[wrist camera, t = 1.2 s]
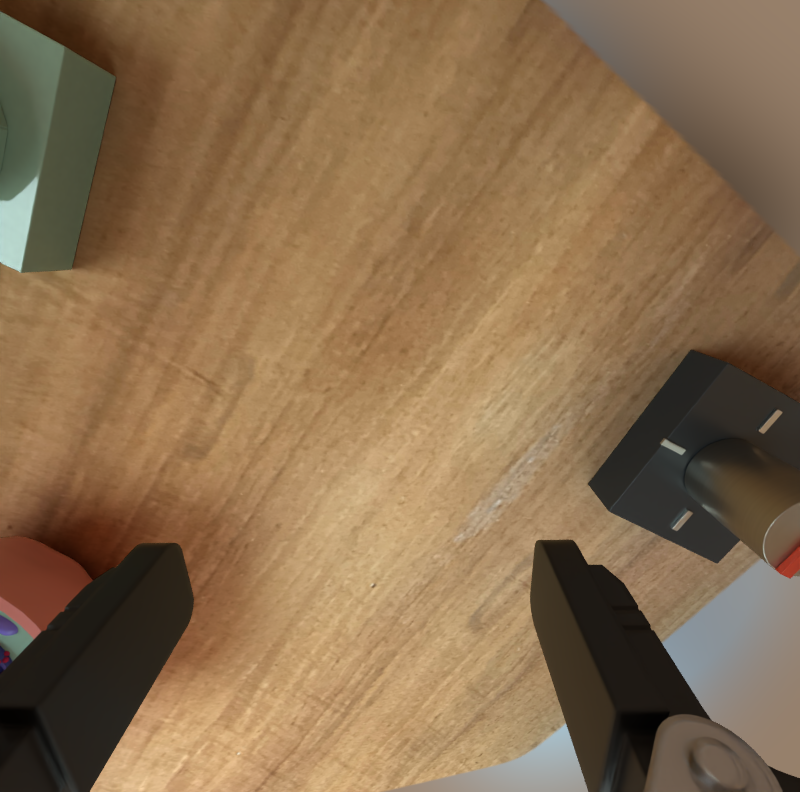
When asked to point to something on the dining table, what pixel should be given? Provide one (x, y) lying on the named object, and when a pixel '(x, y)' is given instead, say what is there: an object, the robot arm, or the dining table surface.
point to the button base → (46, 146)
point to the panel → (693, 449)
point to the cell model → (32, 591)
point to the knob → (751, 499)
